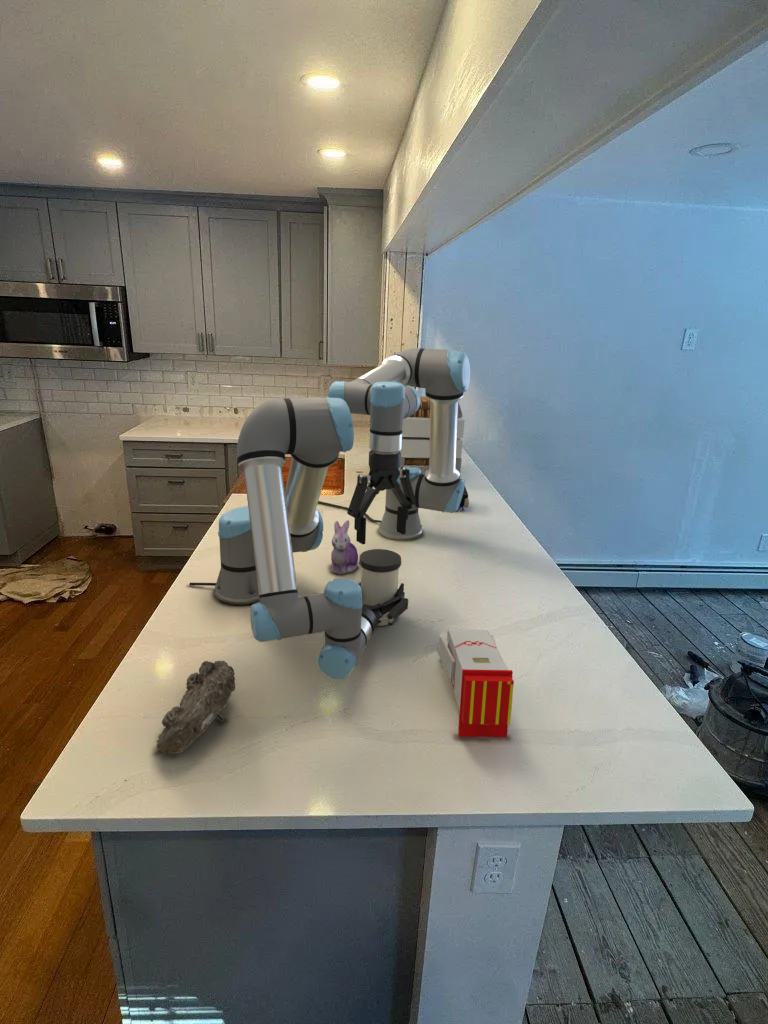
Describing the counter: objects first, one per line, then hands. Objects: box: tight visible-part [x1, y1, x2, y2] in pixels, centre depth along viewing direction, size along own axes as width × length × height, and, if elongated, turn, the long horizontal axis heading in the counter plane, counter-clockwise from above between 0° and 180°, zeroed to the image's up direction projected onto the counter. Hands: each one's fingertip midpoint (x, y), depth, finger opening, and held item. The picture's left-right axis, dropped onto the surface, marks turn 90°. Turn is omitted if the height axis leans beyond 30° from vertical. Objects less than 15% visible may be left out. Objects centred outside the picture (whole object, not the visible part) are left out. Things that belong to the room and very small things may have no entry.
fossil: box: [156, 660, 236, 755], centre depth 106 cm, size 22×10×15 cm
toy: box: [437, 628, 515, 738], centre depth 117 cm, size 12×13×30 cm
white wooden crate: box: [400, 396, 465, 475], centre depth 268 cm, size 34×33×41 cm
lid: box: [358, 548, 402, 573], centre depth 141 cm, size 10×10×2 cm
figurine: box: [330, 519, 359, 575], centre depth 169 cm, size 9×10×15 cm
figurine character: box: [458, 486, 470, 512], centre depth 229 cm, size 7×8×15 cm
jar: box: [360, 566, 400, 627], centre depth 143 cm, size 9×9×16 cm
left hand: (383, 584), depth 148 cm, fingers closed on jar, 9 cm apart
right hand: (381, 537), depth 139 cm, fingers open, 12 cm apart
